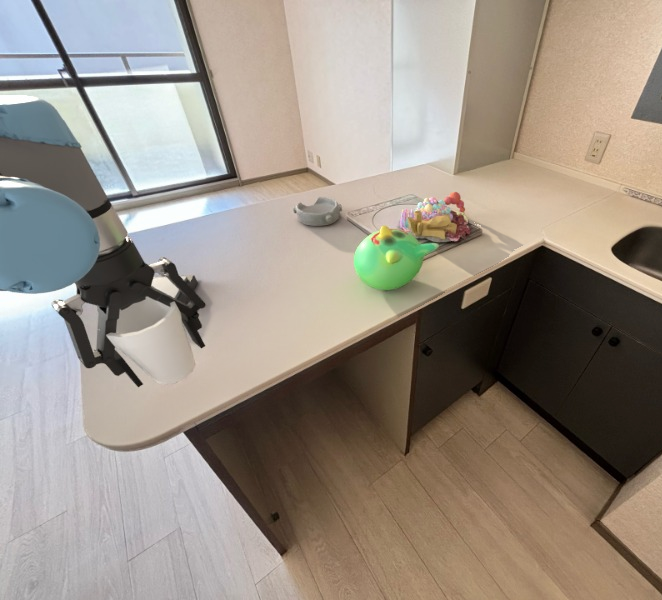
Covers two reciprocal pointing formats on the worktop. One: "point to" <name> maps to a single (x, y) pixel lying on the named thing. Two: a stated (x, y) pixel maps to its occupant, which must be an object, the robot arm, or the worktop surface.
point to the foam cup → (155, 340)
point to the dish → (319, 212)
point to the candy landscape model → (437, 220)
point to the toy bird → (390, 258)
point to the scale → (171, 289)
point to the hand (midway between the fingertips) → (169, 361)
